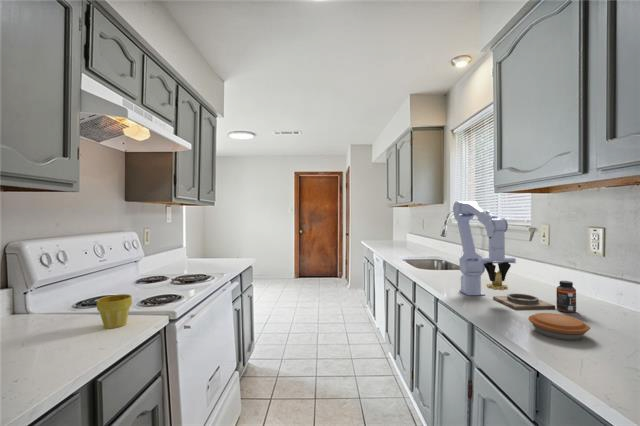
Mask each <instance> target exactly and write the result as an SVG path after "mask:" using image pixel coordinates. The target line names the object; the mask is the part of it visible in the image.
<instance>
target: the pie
mask: <svg viewBox="0 0 640 426" xmlns="http://www.w3.org/2000/svg"><path fill="white" fill-rule="evenodd" d="M528 321H529V322H530V323H531V324H532V326H533V327H534V329H535V331H537V333H539V334H541V335H543V336H545V337H548V338H552V339H557V340H562V341H577V340H581V339H582V337H583V336H584V335H585V334H586V333H587V332H589V331H590V330H591V327H590V326H589V325H588V324H587V323H585V322H583V321H582V320H580V319H578V318H576V317H573V316H570V315H565V314H561V313H553V312H540V313H539V312H538V313H535V314H532V315H529V317H528Z"/></svg>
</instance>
